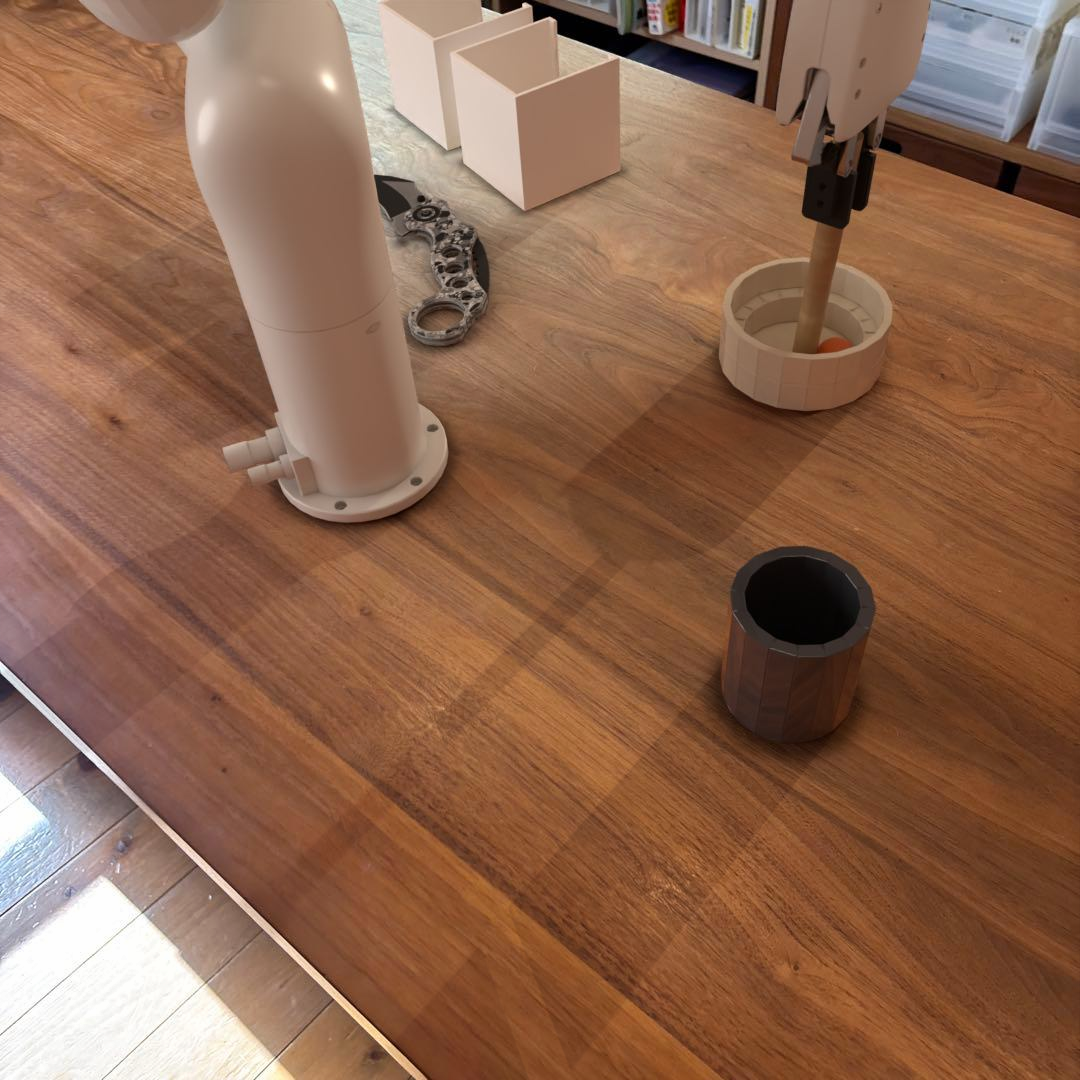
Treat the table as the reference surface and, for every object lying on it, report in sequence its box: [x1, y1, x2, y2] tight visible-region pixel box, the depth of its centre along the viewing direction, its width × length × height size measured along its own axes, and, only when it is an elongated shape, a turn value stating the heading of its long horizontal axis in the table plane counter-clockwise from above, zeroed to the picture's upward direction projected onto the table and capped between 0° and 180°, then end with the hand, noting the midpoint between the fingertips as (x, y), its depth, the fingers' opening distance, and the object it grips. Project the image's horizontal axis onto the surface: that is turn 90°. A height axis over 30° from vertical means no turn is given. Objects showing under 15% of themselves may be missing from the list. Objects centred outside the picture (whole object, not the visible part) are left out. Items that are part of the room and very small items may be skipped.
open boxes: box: [376, 0, 621, 212], centre depth 107 cm, size 25×11×11 cm, turn 34°
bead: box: [817, 337, 853, 354], centre depth 83 cm, size 3×3×3 cm
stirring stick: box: [792, 131, 864, 354], centre depth 76 cm, size 2×2×18 cm
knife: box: [374, 173, 491, 347], centre depth 99 cm, size 28×2×10 cm
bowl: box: [718, 256, 894, 412], centre depth 84 cm, size 12×12×6 cm
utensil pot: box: [720, 545, 877, 744], centre depth 63 cm, size 8×8×9 cm
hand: (834, 210), depth 73 cm, fingers closed on stirring stick, 1 cm apart
